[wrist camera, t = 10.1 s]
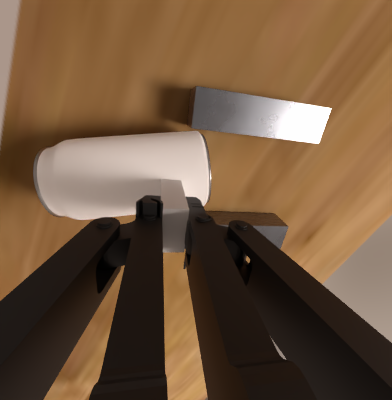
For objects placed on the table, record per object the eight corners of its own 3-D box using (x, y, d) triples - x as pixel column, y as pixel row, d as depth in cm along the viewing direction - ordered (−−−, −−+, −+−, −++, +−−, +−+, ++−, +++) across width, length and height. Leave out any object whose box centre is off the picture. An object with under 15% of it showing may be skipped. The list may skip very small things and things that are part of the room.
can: (215, 209, 15) (37, 230, 13) (201, 203, 21) (80, 216, 20) (207, 118, 14) (20, 130, 13) (195, 140, 21) (70, 149, 19)
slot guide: (190, 89, 18) (196, 85, 15) (308, 107, 20) (331, 108, 18) (175, 232, 24) (178, 248, 21) (268, 233, 26) (280, 248, 24)
